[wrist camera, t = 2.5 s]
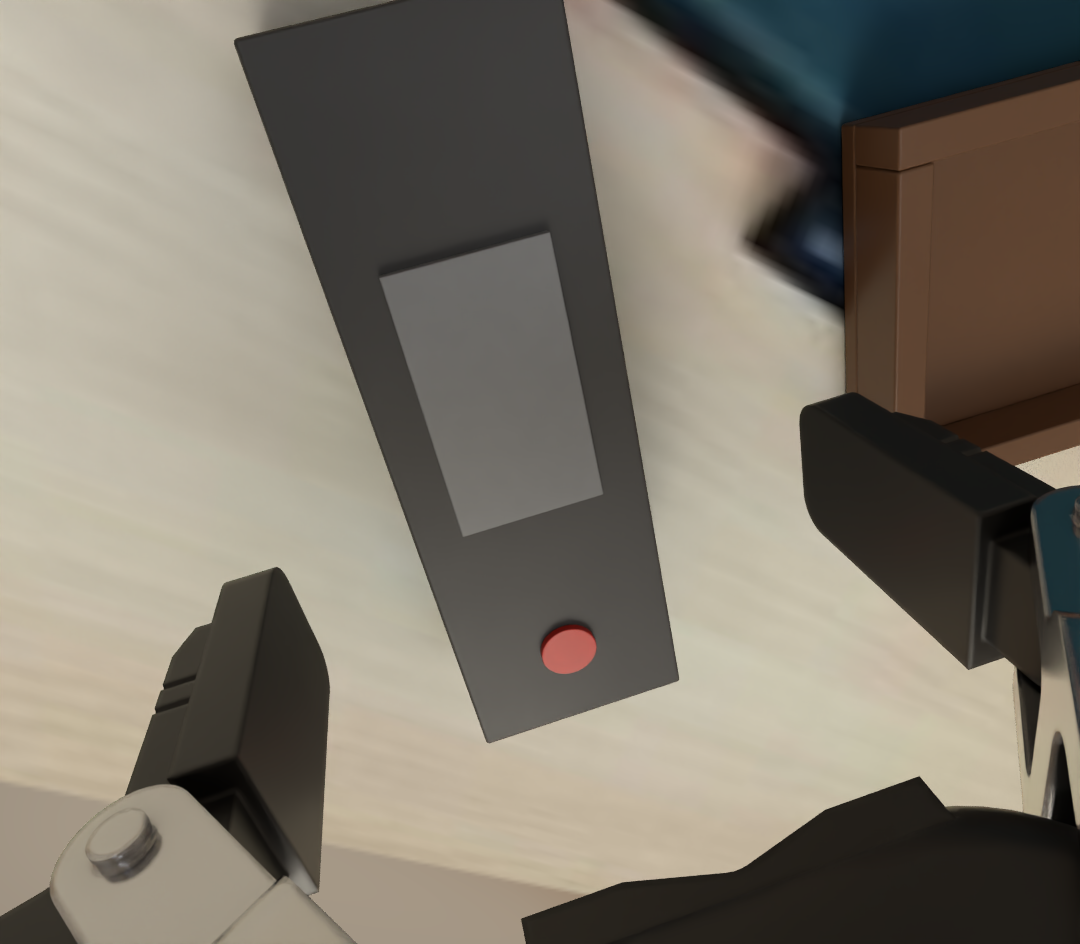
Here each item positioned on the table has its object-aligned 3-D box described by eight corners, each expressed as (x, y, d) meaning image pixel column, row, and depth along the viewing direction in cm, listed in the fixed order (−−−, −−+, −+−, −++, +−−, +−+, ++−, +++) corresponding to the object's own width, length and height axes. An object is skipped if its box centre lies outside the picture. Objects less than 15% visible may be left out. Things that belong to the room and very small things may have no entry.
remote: (262, 52, 13) (230, 38, 10) (511, -8, 14) (560, -41, 10) (466, 642, 20) (488, 750, 17) (630, 590, 20) (683, 685, 17)
